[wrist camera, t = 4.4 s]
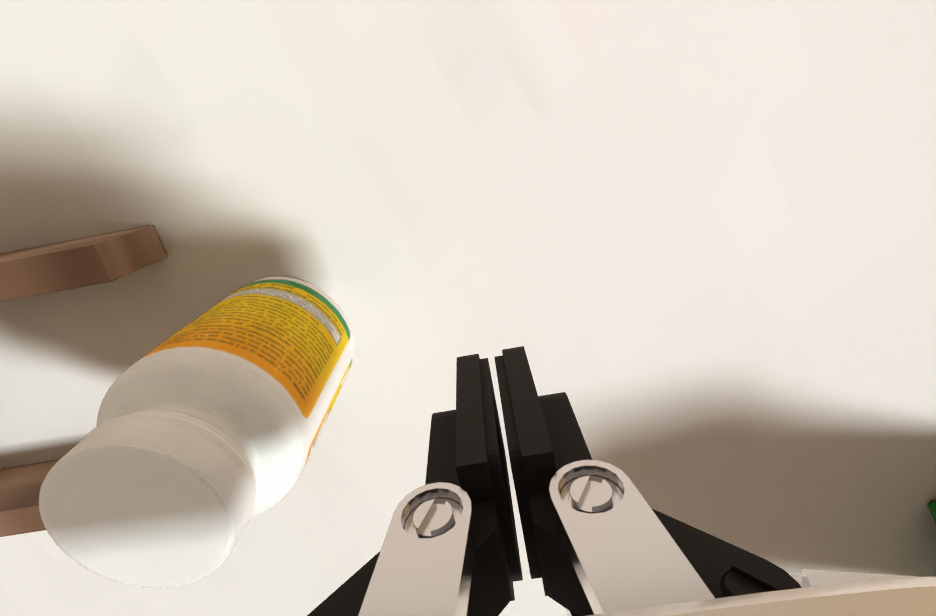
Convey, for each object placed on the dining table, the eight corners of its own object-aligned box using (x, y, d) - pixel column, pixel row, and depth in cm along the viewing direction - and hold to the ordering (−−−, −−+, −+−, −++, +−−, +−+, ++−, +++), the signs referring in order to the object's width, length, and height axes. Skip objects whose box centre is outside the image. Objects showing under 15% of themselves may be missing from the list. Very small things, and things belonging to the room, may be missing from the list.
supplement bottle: (359, 394, 20) (278, 615, 11) (232, 391, 20) (44, 611, 11) (353, 274, 18) (248, 423, 9) (212, 269, 18) (-39, 415, 9)
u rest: (153, 225, 17) (93, 244, 14) (251, 452, 21) (219, 502, 18) (-195, 290, 18) (-317, 321, 15) (-39, 498, 22) (-113, 554, 19)
